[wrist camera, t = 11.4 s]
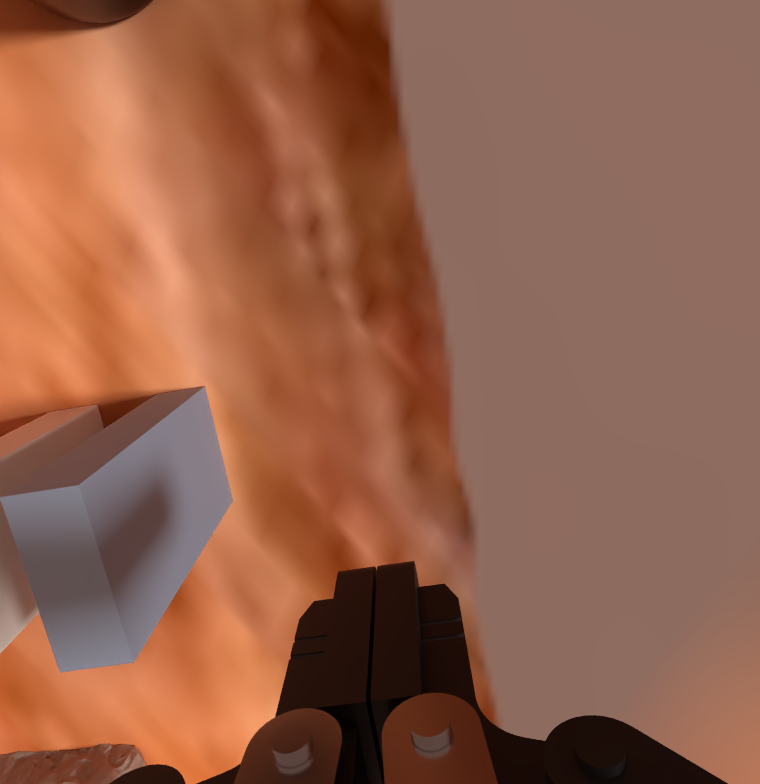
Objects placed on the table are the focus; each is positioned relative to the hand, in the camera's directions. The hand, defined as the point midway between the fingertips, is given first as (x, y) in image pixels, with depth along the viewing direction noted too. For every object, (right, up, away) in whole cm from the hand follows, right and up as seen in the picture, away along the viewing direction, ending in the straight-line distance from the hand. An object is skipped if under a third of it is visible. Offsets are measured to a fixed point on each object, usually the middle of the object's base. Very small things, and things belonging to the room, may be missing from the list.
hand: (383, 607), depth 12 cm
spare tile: (-8, +2, +13) cm, 15 cm away
